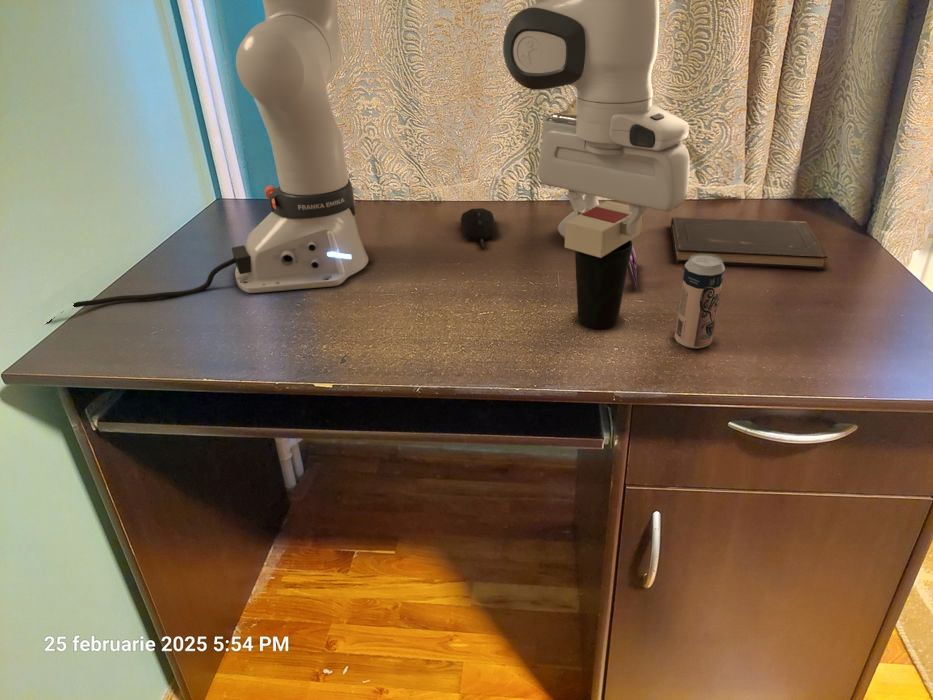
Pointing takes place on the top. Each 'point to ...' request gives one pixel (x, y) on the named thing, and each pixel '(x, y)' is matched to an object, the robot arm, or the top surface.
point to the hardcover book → (748, 242)
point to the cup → (601, 286)
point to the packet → (599, 229)
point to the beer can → (699, 300)
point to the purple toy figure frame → (633, 272)
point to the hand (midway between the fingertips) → (604, 228)
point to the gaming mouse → (478, 225)
